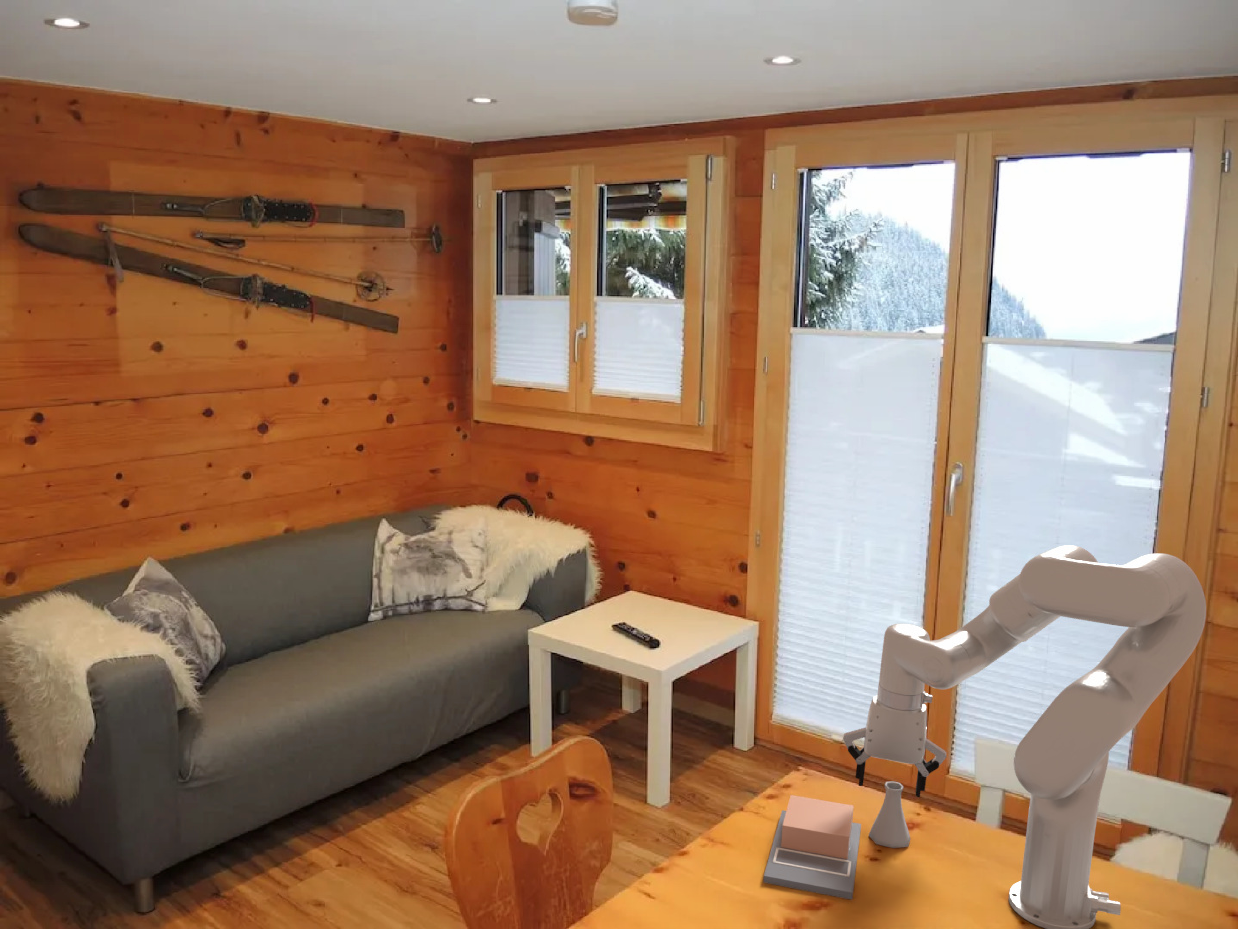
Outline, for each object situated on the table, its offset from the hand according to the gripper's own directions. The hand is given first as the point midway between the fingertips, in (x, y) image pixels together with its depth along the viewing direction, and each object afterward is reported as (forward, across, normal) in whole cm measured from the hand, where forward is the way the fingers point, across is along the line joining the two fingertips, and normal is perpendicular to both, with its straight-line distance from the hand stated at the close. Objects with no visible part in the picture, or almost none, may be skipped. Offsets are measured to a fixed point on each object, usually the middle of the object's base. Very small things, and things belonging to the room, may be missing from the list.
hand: (889, 788), depth 177 cm
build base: (+9, +11, +10) cm, 18 cm away
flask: (+9, -1, 0) cm, 9 cm away
